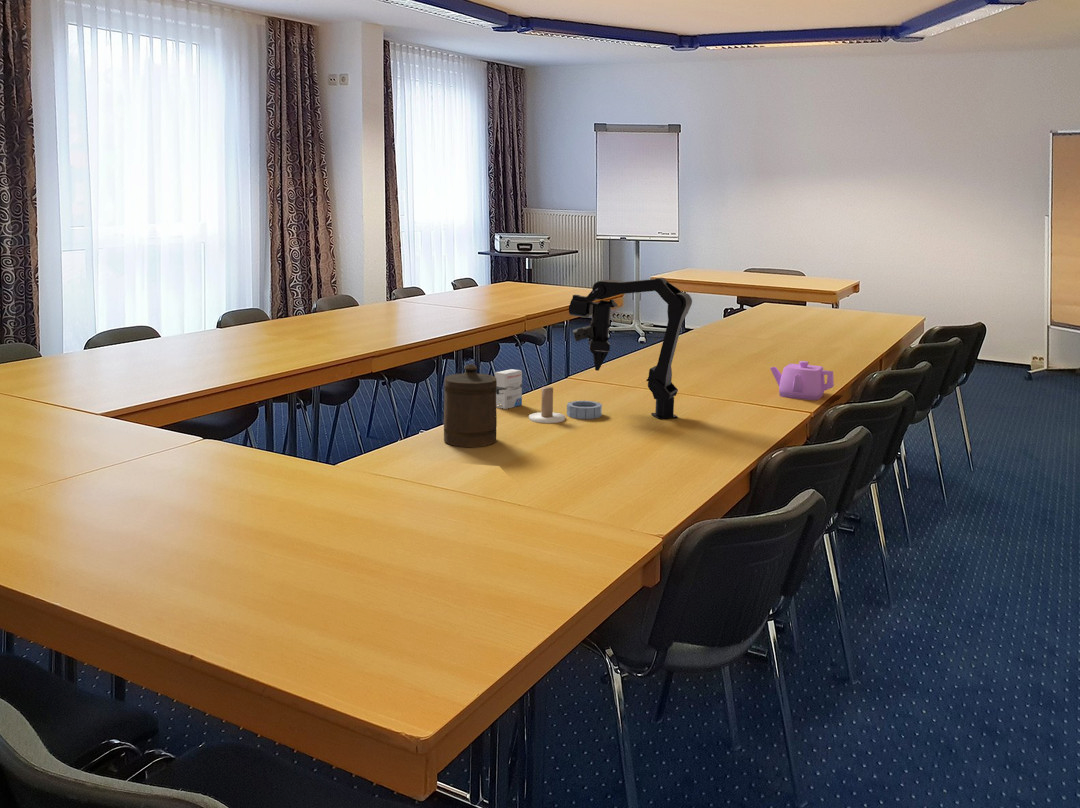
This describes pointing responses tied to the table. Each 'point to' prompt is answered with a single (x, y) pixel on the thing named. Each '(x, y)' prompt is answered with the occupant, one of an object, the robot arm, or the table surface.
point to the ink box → (509, 388)
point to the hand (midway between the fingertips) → (596, 367)
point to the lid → (547, 409)
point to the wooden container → (470, 409)
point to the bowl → (584, 409)
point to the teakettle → (803, 381)
